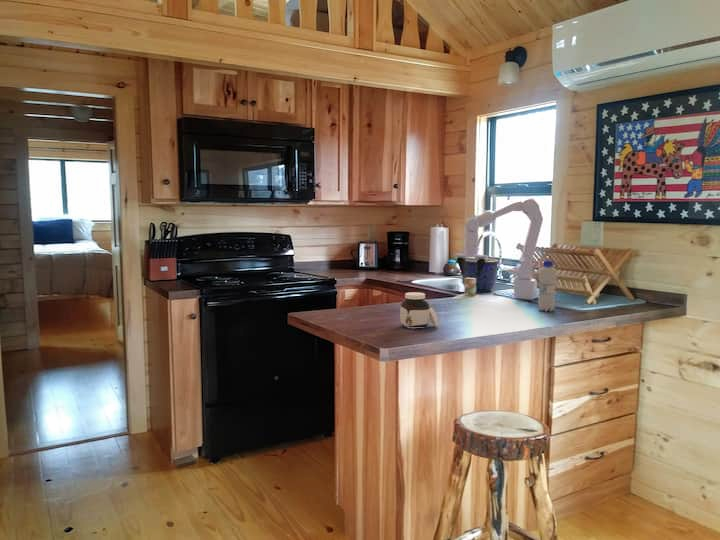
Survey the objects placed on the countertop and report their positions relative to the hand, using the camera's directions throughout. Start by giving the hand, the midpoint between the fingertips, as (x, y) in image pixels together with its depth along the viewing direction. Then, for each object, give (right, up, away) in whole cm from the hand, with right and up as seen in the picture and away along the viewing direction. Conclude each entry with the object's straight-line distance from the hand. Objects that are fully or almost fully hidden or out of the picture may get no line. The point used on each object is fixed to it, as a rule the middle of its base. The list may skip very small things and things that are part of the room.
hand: (470, 275), depth 260 cm
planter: (+7, -8, +17) cm, 20 cm away
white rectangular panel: (+3, -10, -4) cm, 11 cm away
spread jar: (-29, -18, -60) cm, 69 cm away
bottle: (+24, -14, -30) cm, 41 cm away
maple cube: (0, -5, +1) cm, 5 cm away
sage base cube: (0, -9, +1) cm, 9 cm away
